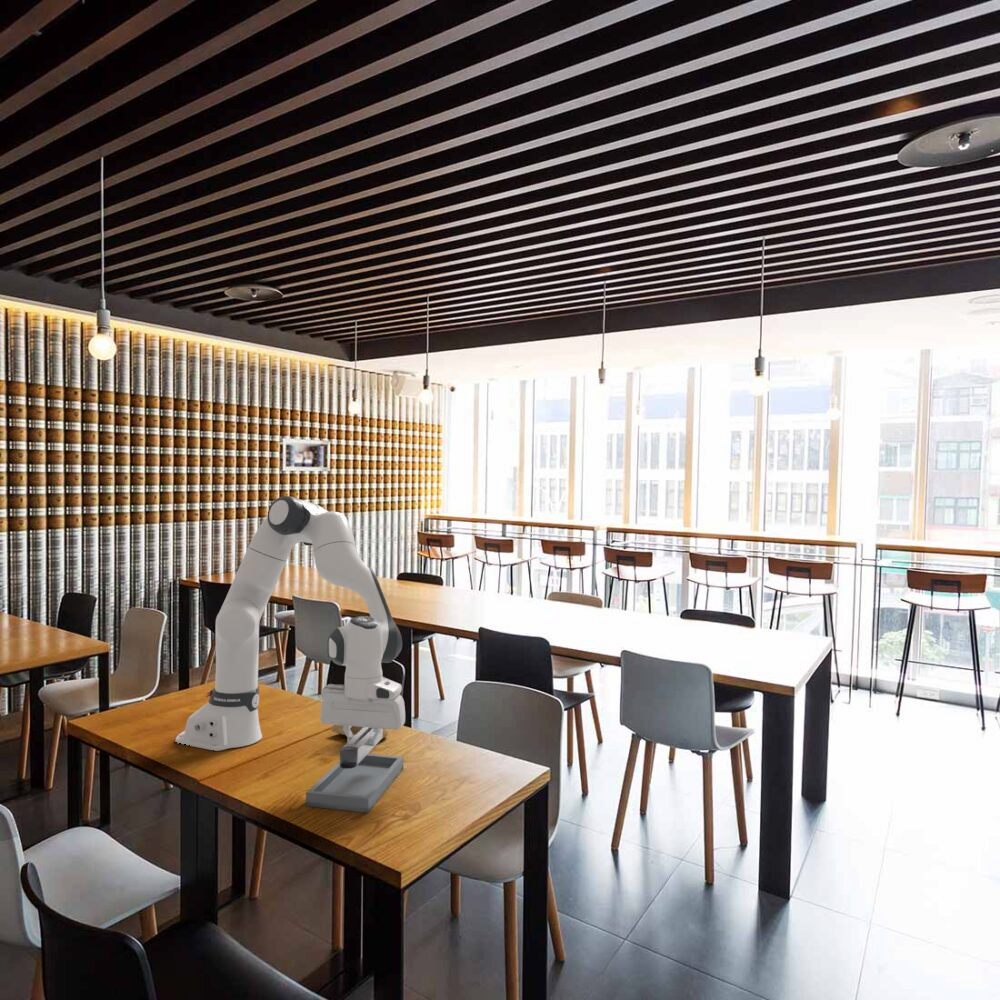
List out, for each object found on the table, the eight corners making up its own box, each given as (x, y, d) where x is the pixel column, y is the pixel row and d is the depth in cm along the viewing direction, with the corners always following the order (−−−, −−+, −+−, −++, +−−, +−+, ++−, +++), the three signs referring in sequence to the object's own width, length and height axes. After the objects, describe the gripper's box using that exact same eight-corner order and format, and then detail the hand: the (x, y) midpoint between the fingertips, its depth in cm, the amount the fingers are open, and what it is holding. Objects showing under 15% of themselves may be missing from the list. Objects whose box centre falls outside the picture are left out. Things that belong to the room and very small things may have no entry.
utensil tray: (305, 806, 152) (306, 792, 152) (349, 763, 177) (349, 751, 177) (368, 813, 149) (368, 799, 149) (403, 768, 174) (403, 757, 174)
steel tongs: (336, 767, 154) (337, 752, 154) (367, 736, 174) (367, 722, 174) (353, 769, 153) (354, 753, 153) (382, 737, 173) (383, 724, 173)
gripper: (316, 686, 162) (315, 745, 162) (400, 692, 159) (398, 752, 159) (327, 680, 169) (325, 736, 169) (408, 685, 165) (406, 743, 165)
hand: (361, 744), depth 164 cm, fingers closed on steel tongs, 4 cm apart
